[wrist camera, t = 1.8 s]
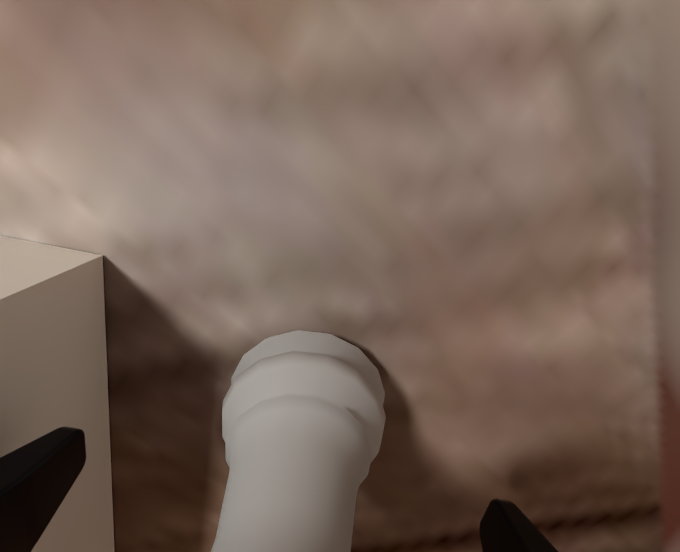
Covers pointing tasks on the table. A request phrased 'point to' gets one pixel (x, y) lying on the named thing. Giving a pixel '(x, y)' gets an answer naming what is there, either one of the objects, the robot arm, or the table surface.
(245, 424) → the rook chess piece
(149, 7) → the table surface
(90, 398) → the white square tray
